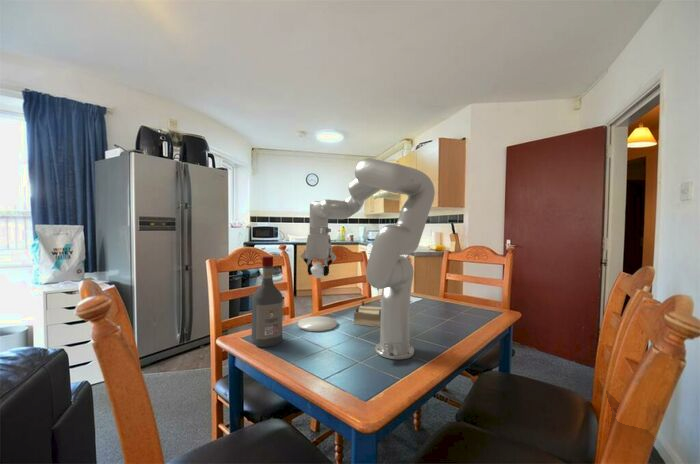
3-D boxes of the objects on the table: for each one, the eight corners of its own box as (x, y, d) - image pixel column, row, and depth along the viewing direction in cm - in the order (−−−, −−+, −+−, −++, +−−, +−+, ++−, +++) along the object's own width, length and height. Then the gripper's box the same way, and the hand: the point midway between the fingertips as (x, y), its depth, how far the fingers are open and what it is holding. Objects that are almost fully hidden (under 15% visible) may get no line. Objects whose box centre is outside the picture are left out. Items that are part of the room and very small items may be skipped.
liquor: (284, 343, 104) (285, 257, 103) (258, 349, 99) (258, 258, 98) (274, 335, 111) (275, 255, 111) (250, 340, 106) (250, 256, 105)
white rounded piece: (315, 275, 127) (315, 259, 126) (328, 276, 124) (328, 260, 124) (307, 278, 121) (307, 260, 121) (320, 279, 118) (320, 261, 118)
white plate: (328, 334, 113) (328, 330, 113) (290, 329, 118) (290, 326, 118) (341, 321, 129) (341, 318, 129) (307, 317, 133) (307, 314, 133)
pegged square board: (382, 327, 122) (382, 310, 121) (354, 324, 125) (354, 307, 125) (387, 318, 133) (387, 303, 133) (361, 315, 137) (361, 300, 136)
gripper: (341, 231, 124) (341, 274, 124) (303, 230, 128) (303, 272, 129) (335, 231, 116) (335, 277, 117) (295, 231, 121) (295, 275, 122)
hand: (318, 274), depth 123 cm, fingers closed on white rounded piece, 6 cm apart
